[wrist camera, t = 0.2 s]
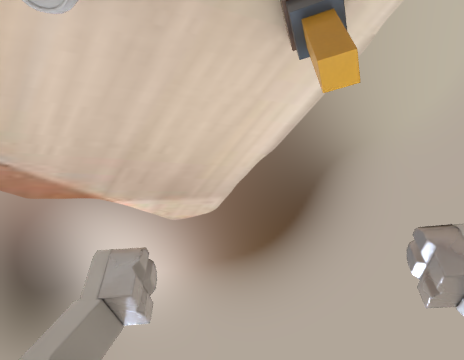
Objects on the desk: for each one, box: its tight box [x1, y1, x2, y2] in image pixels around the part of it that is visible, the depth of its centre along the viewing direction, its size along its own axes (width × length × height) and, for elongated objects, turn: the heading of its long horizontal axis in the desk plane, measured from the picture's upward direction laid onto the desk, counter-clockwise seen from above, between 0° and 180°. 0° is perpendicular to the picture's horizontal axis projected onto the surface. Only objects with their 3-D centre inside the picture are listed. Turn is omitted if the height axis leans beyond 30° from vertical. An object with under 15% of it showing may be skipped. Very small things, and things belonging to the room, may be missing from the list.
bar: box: [301, 8, 360, 93], centre depth 41 cm, size 4×4×11 cm
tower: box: [280, 0, 347, 60], centre depth 48 cm, size 8×8×9 cm
